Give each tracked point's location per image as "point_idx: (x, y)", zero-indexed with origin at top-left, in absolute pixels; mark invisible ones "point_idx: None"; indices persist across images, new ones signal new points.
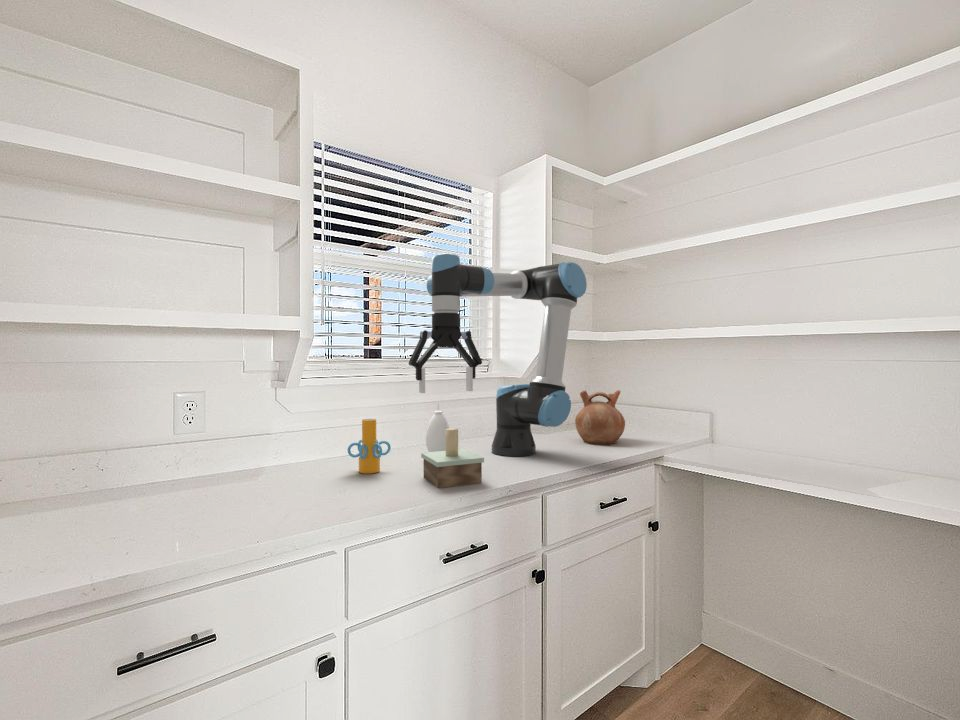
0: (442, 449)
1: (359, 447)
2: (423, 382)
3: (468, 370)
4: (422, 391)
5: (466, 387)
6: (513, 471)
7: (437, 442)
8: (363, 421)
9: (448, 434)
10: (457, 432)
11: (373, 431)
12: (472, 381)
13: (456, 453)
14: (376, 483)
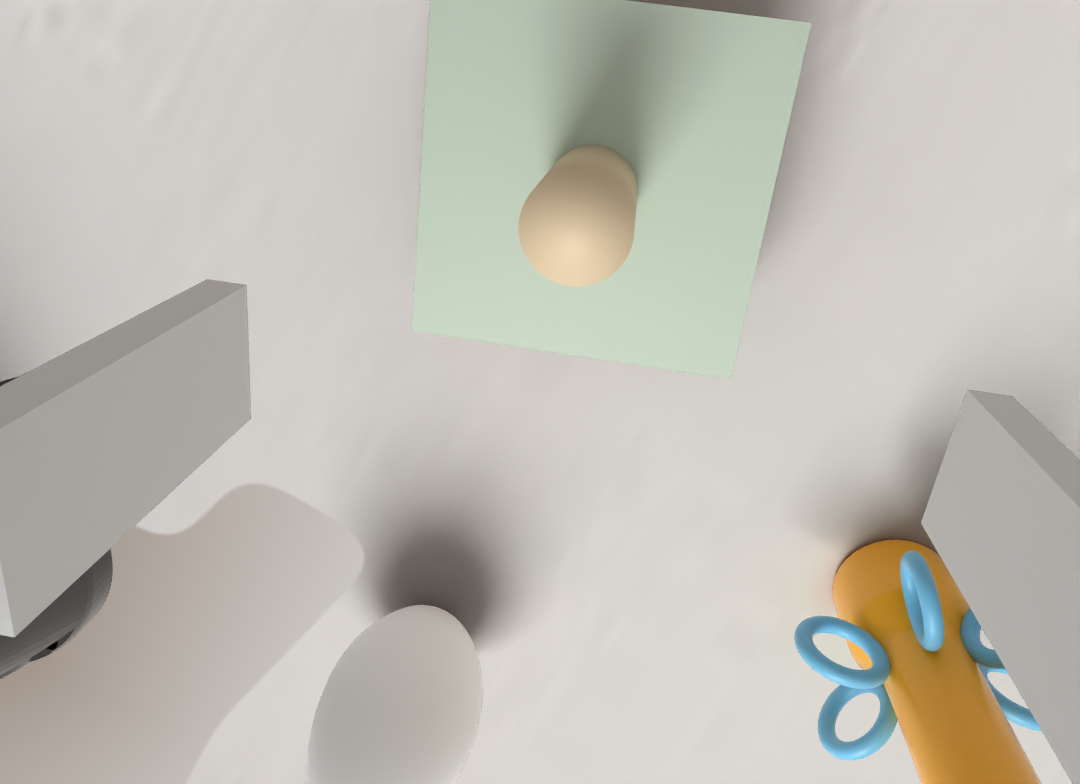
0: (419, 616)
1: (997, 694)
2: (1071, 473)
3: (47, 487)
4: (1022, 407)
5: (230, 428)
6: (182, 148)
7: (439, 652)
8: None
9: (629, 195)
10: (546, 177)
11: (965, 727)
12: (125, 324)
13: (576, 149)
14: (1001, 342)
